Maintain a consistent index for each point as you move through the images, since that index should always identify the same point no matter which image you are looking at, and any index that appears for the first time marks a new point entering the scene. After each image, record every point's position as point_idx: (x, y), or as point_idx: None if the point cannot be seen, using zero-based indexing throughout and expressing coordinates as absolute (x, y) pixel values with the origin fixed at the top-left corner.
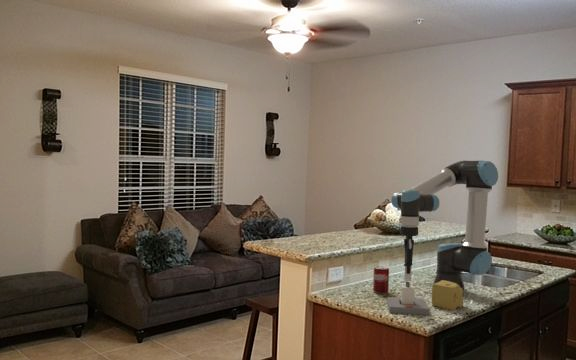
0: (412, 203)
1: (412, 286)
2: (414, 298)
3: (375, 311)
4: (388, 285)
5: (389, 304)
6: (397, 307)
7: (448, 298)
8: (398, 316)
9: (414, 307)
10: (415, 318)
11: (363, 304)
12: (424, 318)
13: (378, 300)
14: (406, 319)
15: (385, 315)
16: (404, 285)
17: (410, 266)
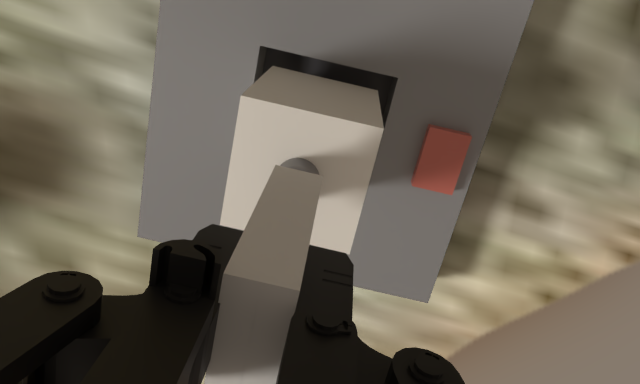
0: None
1: (292, 119)
2: (164, 8)
3: (384, 353)
4: None
5: (364, 285)
6: (445, 250)
7: None
8: (518, 246)
9: (469, 116)
10: (590, 141)
11: None
12: (606, 67)
13: (105, 262)
14: (599, 214)
15: (482, 320)
16: (243, 197)
17: (294, 304)
